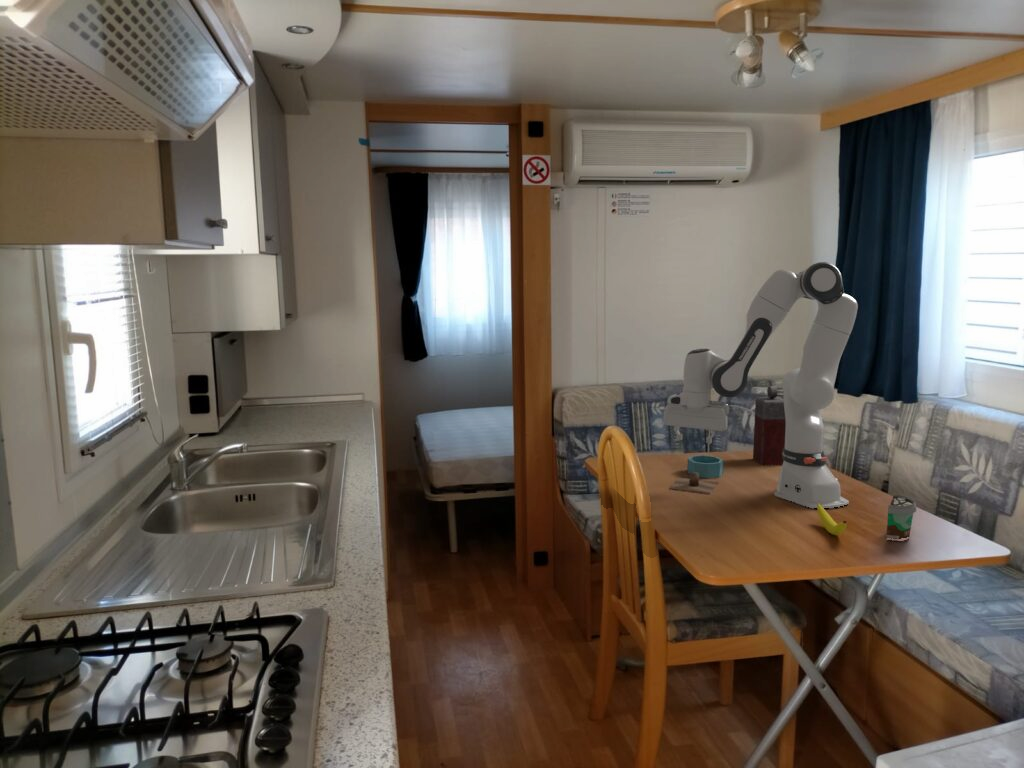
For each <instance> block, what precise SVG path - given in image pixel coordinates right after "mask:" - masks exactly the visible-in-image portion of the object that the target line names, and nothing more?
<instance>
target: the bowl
mask: <svg viewBox="0 0 1024 768" xmlns="http://www.w3.org/2000/svg"><path fill="white" fill-rule="evenodd" d="M686 470H687V471H686V474H688V475H690V472H697V473H699V479H700V478H701V477H702V479H714V477H717V478H720V477H721V476H722V475H723V472H724V459H722V458H720V457H718V456H713V455H704V454H703V455H702V454H699V455H691V456H690V457H688V458H687V467H686Z"/></svg>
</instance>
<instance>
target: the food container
mask: <svg viewBox="0 0 1024 768" xmlns="http://www.w3.org/2000/svg"><path fill="white" fill-rule="evenodd" d="M916 512H917V504H916V501H915V500H914V499H913V498H912V497H908V496H906V495H902V494H899V493H892V500H891V502H890V504H888V509H887V521H886V522H887V524H886V536H885V538H891V539H892V538H893V539H901V538H907V537H909V538H910V534H911V529H912V522H913V517H914V513H916Z"/></svg>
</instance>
